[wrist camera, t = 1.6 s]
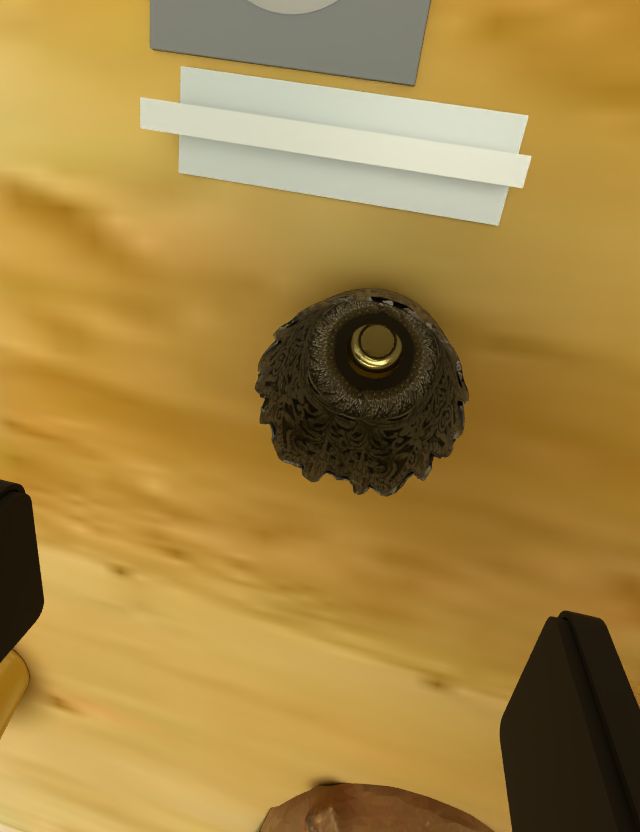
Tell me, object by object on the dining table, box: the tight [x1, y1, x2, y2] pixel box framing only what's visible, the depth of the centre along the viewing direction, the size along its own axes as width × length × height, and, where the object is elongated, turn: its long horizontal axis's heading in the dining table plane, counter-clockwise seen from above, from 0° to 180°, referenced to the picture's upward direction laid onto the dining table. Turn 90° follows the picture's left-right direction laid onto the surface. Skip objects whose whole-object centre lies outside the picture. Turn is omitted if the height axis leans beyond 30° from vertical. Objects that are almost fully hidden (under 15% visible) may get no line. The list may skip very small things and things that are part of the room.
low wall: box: [140, 66, 532, 226], centre depth 20 cm, size 4×14×4 cm, turn 82°
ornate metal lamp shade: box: [255, 288, 469, 496], centre depth 22 cm, size 8×7×8 cm
